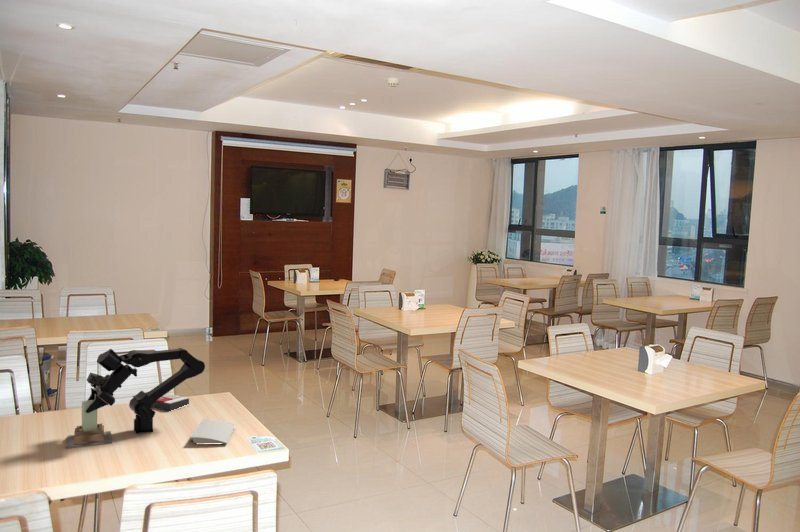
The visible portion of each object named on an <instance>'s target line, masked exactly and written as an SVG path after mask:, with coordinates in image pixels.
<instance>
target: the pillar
mask: <svg viewBox="0 0 800 532" xmlns="http://www.w3.org/2000/svg"><path fill="white" fill-rule="evenodd" d="M87 400H88V399H87ZM87 400H82V401H81V425H82V431H83V432H87V431H97V424H98V409H96V410H94V411H92V412H90V413H87V412H86V410H87V409H88V407H89V406H90V405H91V403H92V402H93V401H94V400H88V401H87Z"/></svg>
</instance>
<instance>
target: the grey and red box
mask: <svg viewBox="0 0 800 532" xmlns="http://www.w3.org/2000/svg"><path fill="white" fill-rule="evenodd" d="M187 404H189V405H190V399H189V398H188V397H186V396H182V395H176V394H171V393H166V394H165V395H163V396H162V397H161V398H159V399H158V400H157V401H156V402H155V404H154V405H153V407H152V408H155V407H157V408H156V409H159V408H160V410H163V411H165V410H167V411H166V412H169V411H170V412H172V411H171V410H174V409H177V408H179V407H182V406H184V405H187ZM177 410H178V409H177ZM174 411H175V410H174Z"/></svg>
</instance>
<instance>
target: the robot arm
mask: <svg viewBox="0 0 800 532" xmlns="http://www.w3.org/2000/svg"><path fill="white" fill-rule="evenodd" d="M172 360H173V361H174V360H180V361H182V363H183V364H182V366H181V367H180V368H179V370H177V371H176V372H175V373H173V374H172V375H171V376H169V377H168V378H167V379H165V380H164V381H162V382H161V383H159V384H158V385H156V386H155V387H154V388H152V389H151V390H150V391H146V392H145V391H144V390H140V391H139V392H138V393H137V394H134V395H132V398H131V399H129V404H128V407H129V409H130V410H132V411H133V413H134V415H135V418H133V431H134V432H135V434H145V433H146V434H147V433H153V432H154V422H153V421H154V417H155V415H156V411H155V410H154V409H153V408H154V407H153V405H154V404H155V402H156V401H157V400H158V399H159V398H161V397H162V396H163V395H165V394H169V392H171V391H172V390H173V389H175V388H177V386H179V385H181V384H182V383H184V381H186V380H187V379H191V378H194V377H198V376H199V375H201V374H202V373H203V372H204V371H205V368H206V366H205V365H206V364H205V362H204V361H202V360H201V359H198V358H196V357H195V356H194V355H192V354H191V353H190V352H189V351H188V350H187V349H185V348H182V347H178V348H172V349H164V350H154V351H148V350H140V349H139V350H137V349H132V350H130V351H128V353H125V354H121V355H118V354H117V353H116V351H114V349H112V348H109V349H108V350H105V352H103V353H101V354H100V355H99V357H98V358H97V360H96V363H97V364H98V365H100V366H101V367H102V368H104V369H105V370H106V371H107V372H111V371H112V372H111V373H110V374H105V376H103V375H101V374H97V373H94V372H89V374H88V376H87V378H86V382H87V383H88V384H89V385H90V386H91V387H90V395H89V397H88V399H87V400H86V401H88V400H94V401H93V402H92V403H91V405H90V406H89V407H88V409H87V410H86V412H87V413H90V412H92V411H94V410H96V409H97V410H98V409H100V408H103V407H106V406H111V407H112V406H113V405H114V404H115V403H116V397H114V395H115V394H114V393H115V391H117V390H118V389H121V388H122V387H123V385H122V384H123V383H125V382H126V380H128V378H130V377H131V375H133V376H134V377H135V378H137V376H138V369H137V368H140V367H145V366H147V365H150V364H152V363H156V362H166V361H172ZM122 362H123V363H122ZM124 364H125V365H124ZM131 366H132V367H133V368H132V367H131Z"/></svg>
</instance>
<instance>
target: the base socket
mask: <svg viewBox="0 0 800 532" xmlns="http://www.w3.org/2000/svg"><path fill="white" fill-rule="evenodd" d="M112 443H113V442H112V431H111V430H109V431H108V430H107V431H105V425H104V424H103V423H102V422H101V423H97V431H87V432H83V431H82V424H81V425H76V427H75V428H74V433H73V435H72V434H71V435H67V438H66V446H65V448H66V449H72V448H80V447H88V446H89V447H90V446H91V447H92V446H97V445H105V444H112Z"/></svg>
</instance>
